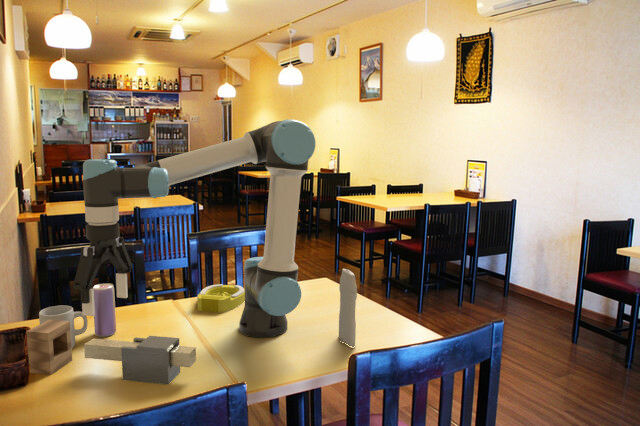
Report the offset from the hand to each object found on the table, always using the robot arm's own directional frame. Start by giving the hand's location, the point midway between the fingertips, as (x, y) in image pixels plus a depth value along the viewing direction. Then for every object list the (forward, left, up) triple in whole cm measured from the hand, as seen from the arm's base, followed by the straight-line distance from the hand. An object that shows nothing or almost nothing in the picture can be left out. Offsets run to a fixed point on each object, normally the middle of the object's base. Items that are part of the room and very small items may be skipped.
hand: (106, 306), depth 120 cm
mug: (+21, -11, -17) cm, 29 cm away
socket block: (+16, +1, -17) cm, 23 cm away
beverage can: (+15, -21, -17) cm, 31 cm away
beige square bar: (-9, +1, -13) cm, 16 cm away
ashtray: (-9, -55, -18) cm, 59 cm away
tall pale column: (-58, -29, -17) cm, 67 cm away
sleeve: (-12, +1, -17) cm, 21 cm away
